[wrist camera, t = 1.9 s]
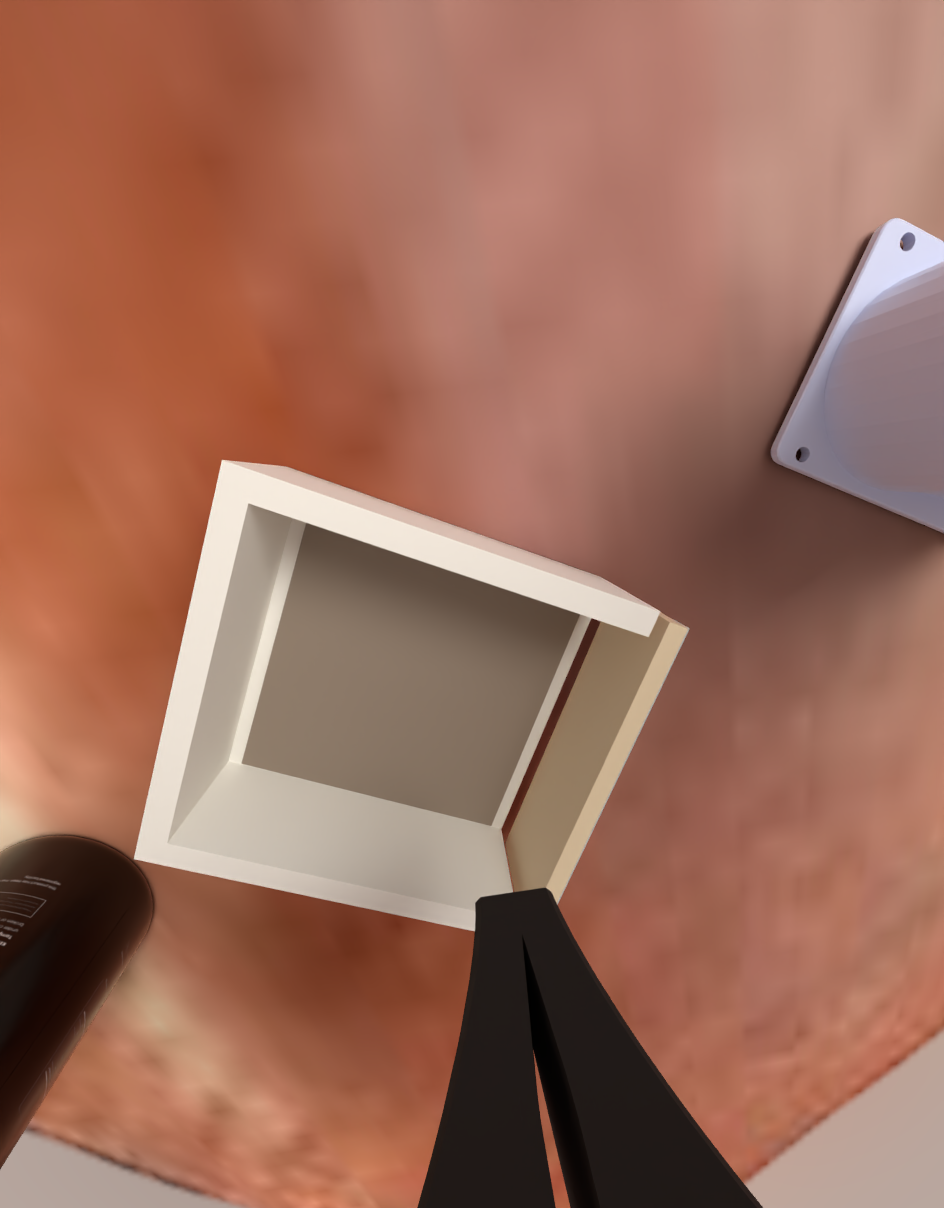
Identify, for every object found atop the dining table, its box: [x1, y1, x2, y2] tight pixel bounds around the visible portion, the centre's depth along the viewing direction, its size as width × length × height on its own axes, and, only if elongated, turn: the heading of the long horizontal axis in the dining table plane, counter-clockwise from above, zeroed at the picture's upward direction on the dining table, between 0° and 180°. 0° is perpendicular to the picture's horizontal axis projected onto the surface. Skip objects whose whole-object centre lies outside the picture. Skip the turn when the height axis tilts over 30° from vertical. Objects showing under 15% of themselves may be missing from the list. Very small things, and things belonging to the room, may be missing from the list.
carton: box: [134, 460, 660, 931], centre depth 16 cm, size 12×12×5 cm
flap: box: [505, 612, 690, 905], centre depth 16 cm, size 1×12×4 cm, turn 160°
